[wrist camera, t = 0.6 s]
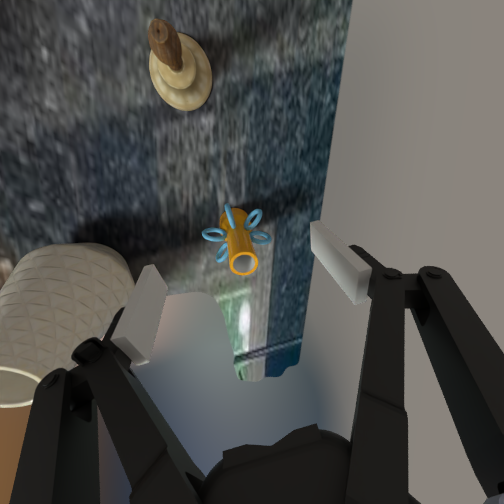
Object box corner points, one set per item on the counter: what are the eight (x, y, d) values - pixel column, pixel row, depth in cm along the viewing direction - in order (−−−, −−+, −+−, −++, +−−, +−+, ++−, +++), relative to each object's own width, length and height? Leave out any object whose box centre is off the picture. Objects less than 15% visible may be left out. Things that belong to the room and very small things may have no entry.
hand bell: (188, 16, 26) (161, -100, 12) (223, 91, 30) (231, 65, 17) (135, 55, 27) (58, -13, 13) (176, 122, 31) (149, 120, 18)
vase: (88, 306, 46) (-1, 436, 27) (20, 244, 37) (-192, 376, 18) (160, 283, 46) (123, 396, 27) (111, 214, 37) (-2, 314, 17)
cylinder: (233, 180, 37) (243, 208, 24) (272, 213, 42) (298, 252, 29) (194, 228, 41) (186, 275, 28) (235, 254, 45) (243, 304, 33)
